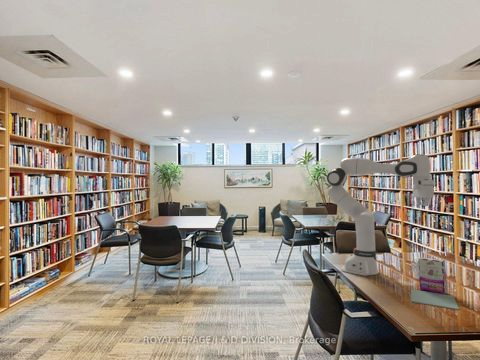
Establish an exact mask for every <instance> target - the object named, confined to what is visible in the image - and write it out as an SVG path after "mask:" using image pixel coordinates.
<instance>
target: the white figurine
mask: <svg viewBox="0 0 480 360" xmlns="http://www.w3.org/2000/svg"><path fill="white" fill-rule="evenodd" d="M413 261H415V262H411V263H410V266H411V267H412V269H411V273H414V272H415V271H416V272H415V279H416V280H418V281H419V260H418V259H416V258H413Z"/></svg>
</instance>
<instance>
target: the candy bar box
mask: <svg viewBox="0 0 480 360" xmlns="http://www.w3.org/2000/svg"><path fill="white" fill-rule="evenodd" d="M418 260H419V280H418V281H419V290H420V291H425V292H432V293H439V294H445V295H447V293H448V290H447V289H448V285H447V283H448V282H447V269H446V260H445V259H437V258H429V257H423V256H422V257H419V258H418V259H417V261H418Z"/></svg>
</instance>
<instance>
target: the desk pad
mask: <svg viewBox="0 0 480 360" xmlns="http://www.w3.org/2000/svg"><path fill="white" fill-rule="evenodd" d="M410 298H411V299H410V300H411V303H416V304H421V305H428V306H433V307H439V308H444V309H451V310H456V311H457V310H458V311H459V310H460V308H459V305H458V304H457V301H456V299H455V297H454V295H451V294H441V293H436V292H431V291H426V290H420V289H419V290H417V289H412V288H411V289H410Z"/></svg>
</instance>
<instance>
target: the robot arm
mask: <svg viewBox="0 0 480 360" xmlns="http://www.w3.org/2000/svg"><path fill="white" fill-rule="evenodd" d="M339 163H340V164H339V167H337V168H335V169H331V170H330V171H329V172H328V173H327V175H326V181H327V183H328V184H329V185H330V187H329V188H328V190H327V195H328V196H329V198H330V199H331V200H332V202H333V203H334V204H336V205H337V206H338V207H339V208H340V209H341V210H342V212H344V213H345V214H346V215H348V216H349V217H350V218H352V219H353V221H354V223H355V224H354V225H355V235H356V236H355V238H356V247H355V248H353V254H352V255H351V256H349V257H348V258H346V259H345V261H344V265H342V266H341V268H340V270H341V271H342V272H343V273H344V272H345V273H350V274H355V275H359V276H360V275H361V276H363V277H364V276H365V277H366V276H373V275H378V274H379V273H380V272H379V269H378V265H377V250H376V233H375V232H376V231H375V229H376V228H375V221H376V218H375V215H374V214H373V213H372V212H371V211H370V210H369V209H368V208H366V207H365V206H364V205H363V204H362V203H360V202H359V200H357V199H356V198H355V197H354V196H353V195H352V194H351V193H349V192H348V191H347V190H346V189H345V188H344V186H345V185H346V182H347V180H348V176H350V175H354V176H355V175H356V176H357V175H358V176H365V175H366V176H368V175H374V174H391V175H395V176H398V177H400V178H405V179H406V178H410V177H411V176H412V197H413V198H415V200H416V203H417V206H422V201H421V200H422V199H423V200H424V203H423V206H424V207H429V203H430V199H433V198H434V195H435V194H434V192H435V187H434V185H435V180H433V179H432V176H431V170H432V169H431V168H432V167H431V160H430V156H428V155H425V154H413V155H412V156H411V157H409V158H407V159H404V160H400V161H399V162H397V163H380V162H377V161H374V160H371V159H369V158H362V157H347V158H343V159H341V161H340V162H339Z"/></svg>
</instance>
